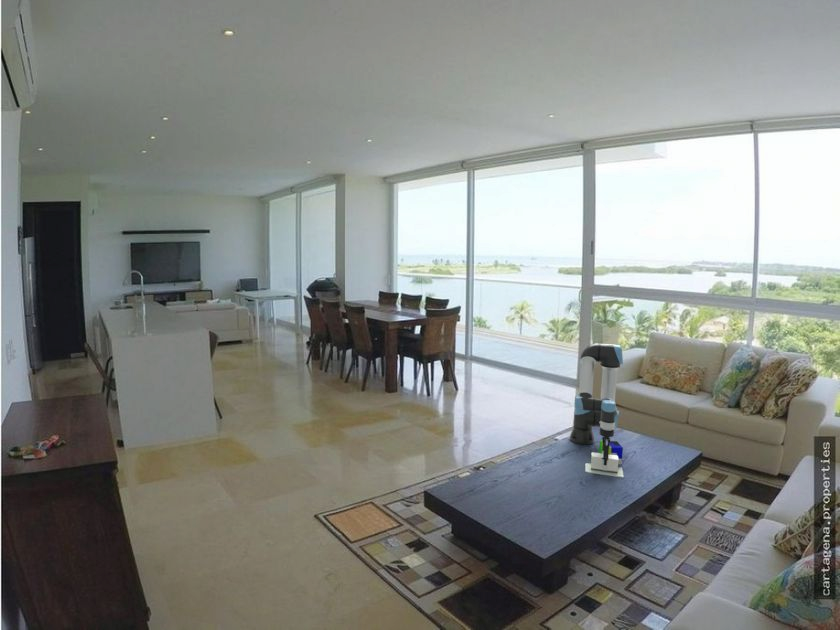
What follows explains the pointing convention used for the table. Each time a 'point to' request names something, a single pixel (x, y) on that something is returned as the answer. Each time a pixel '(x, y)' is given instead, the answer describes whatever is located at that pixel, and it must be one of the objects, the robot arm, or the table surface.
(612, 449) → the puzzle toy
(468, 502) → the table surface
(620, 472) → the plate
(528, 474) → the table surface
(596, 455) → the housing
